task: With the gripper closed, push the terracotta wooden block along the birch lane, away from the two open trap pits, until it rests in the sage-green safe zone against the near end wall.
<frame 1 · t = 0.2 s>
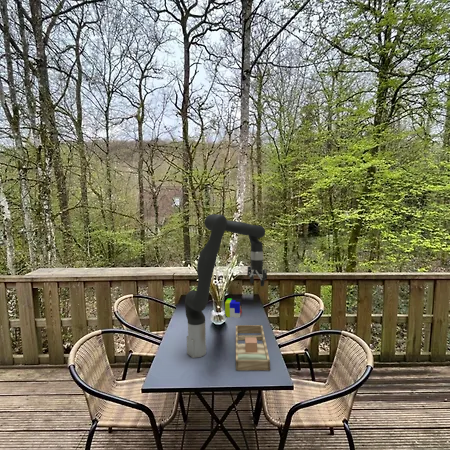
hand: (257, 284, 180), 29 cm above the table, fingers open, 8 cm apart
puzzle toy: (233, 315, 207), on the table
block: (251, 349, 155), point 2 cm above the table, touching trap lane
trap lane: (250, 349, 159), on the table
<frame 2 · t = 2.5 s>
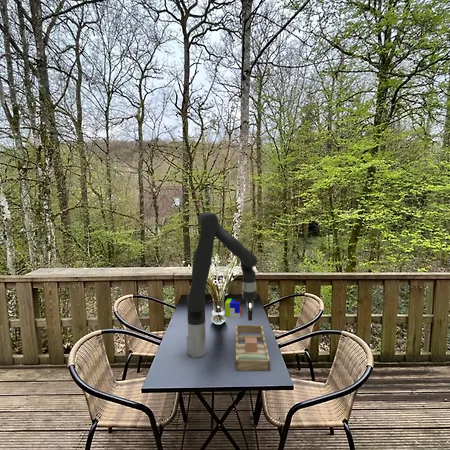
hand: (250, 319, 163), 14 cm above the table, fingers closed
nothing on the table moved.
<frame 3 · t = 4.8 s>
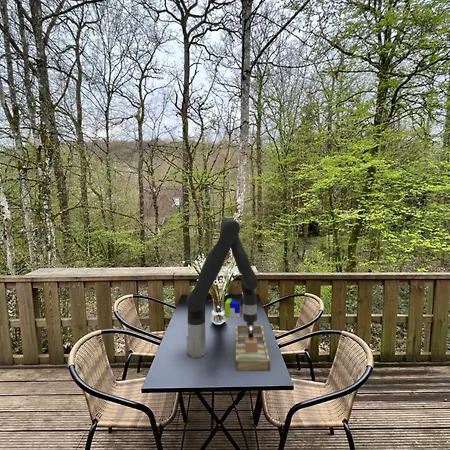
hand: (250, 342, 160), 3 cm above the table, fingers closed
block: (251, 349, 155), point 2 cm above the table, touching gripper
everything else where it was.
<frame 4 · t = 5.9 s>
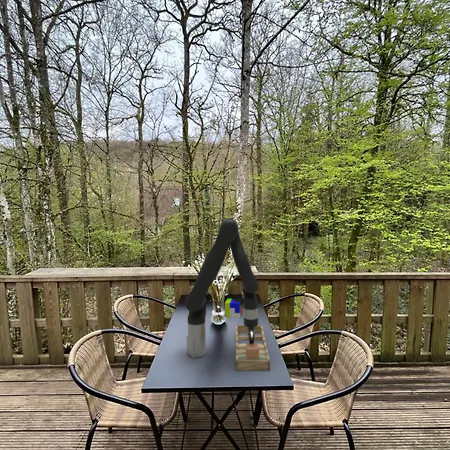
hand: (251, 348, 154), 3 cm above the table, fingers closed
block: (252, 355, 148), point 2 cm above the table, touching gripper, trap lane
everything else where it was.
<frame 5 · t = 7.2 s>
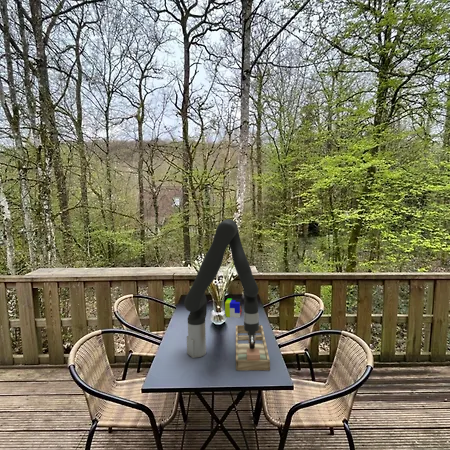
hand: (251, 353, 149), 3 cm above the table, fingers closed
block: (253, 361, 143), point 2 cm above the table, touching gripper, trap lane
everything else where it was.
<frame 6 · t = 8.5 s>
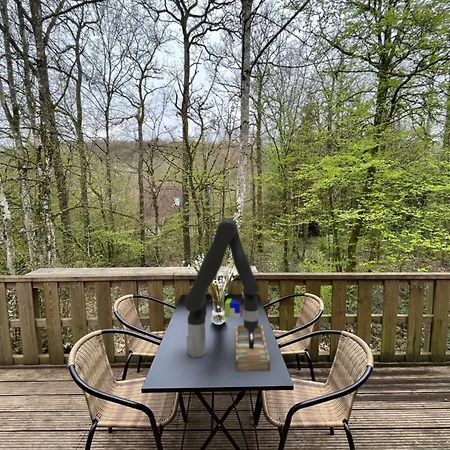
hand: (251, 350, 151), 3 cm above the table, fingers closed
block: (253, 361, 143), point 2 cm above the table, touching trap lane
everything else where it was.
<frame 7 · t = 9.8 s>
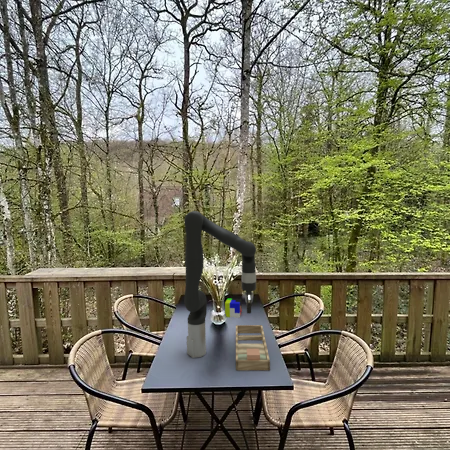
hand: (248, 312, 154), 22 cm above the table, fingers closed
nothing on the table moved.
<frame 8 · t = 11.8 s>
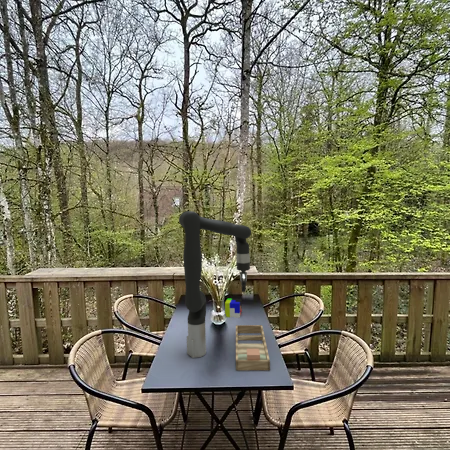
hand: (243, 291, 166), 29 cm above the table, fingers closed
nothing on the table moved.
at the end: block inside the target area on the trap lane (2.7 cm from its centre), point 2.0 cm above the trap lane's base; block tilted 0°; block moved 12.0 cm from its start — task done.
